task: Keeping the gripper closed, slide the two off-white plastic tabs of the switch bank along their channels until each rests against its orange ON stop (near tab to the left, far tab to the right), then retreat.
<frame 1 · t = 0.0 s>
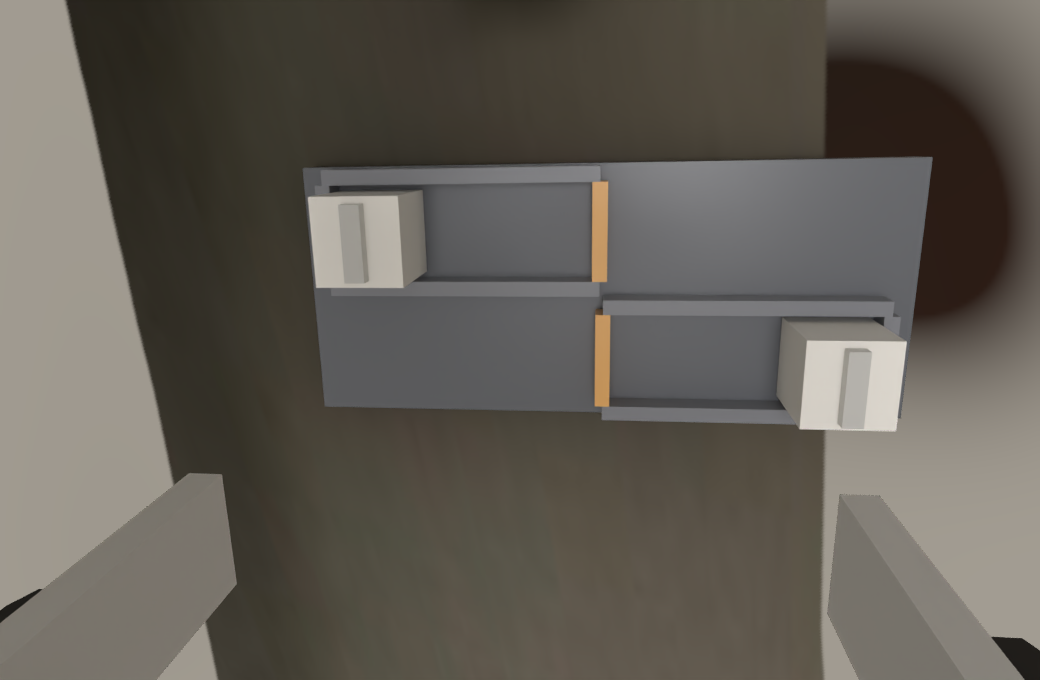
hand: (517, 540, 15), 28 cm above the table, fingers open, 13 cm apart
tab B: (838, 372, 37), point 5 cm above the table, slide at 0.0 cm
switch bank: (601, 286, 42), on the table
tab A: (369, 237, 38), point 5 cm above the table, slide at 0.0 cm
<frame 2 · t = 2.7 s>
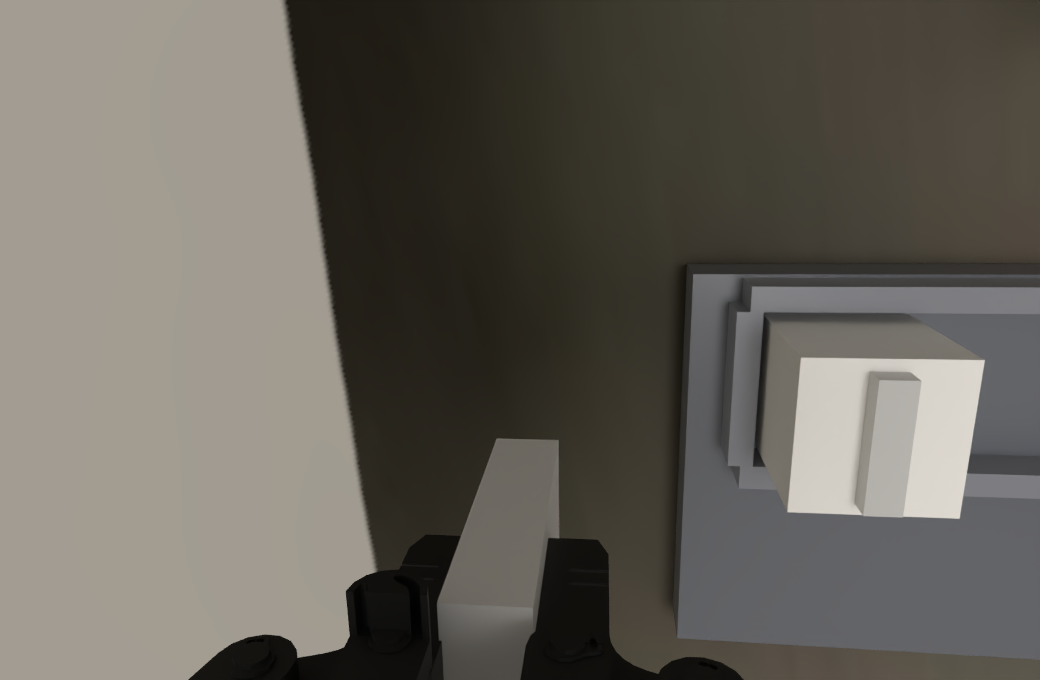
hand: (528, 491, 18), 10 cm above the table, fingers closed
tab A: (855, 410, 21), point 5 cm above the table, slide at 0.0 cm
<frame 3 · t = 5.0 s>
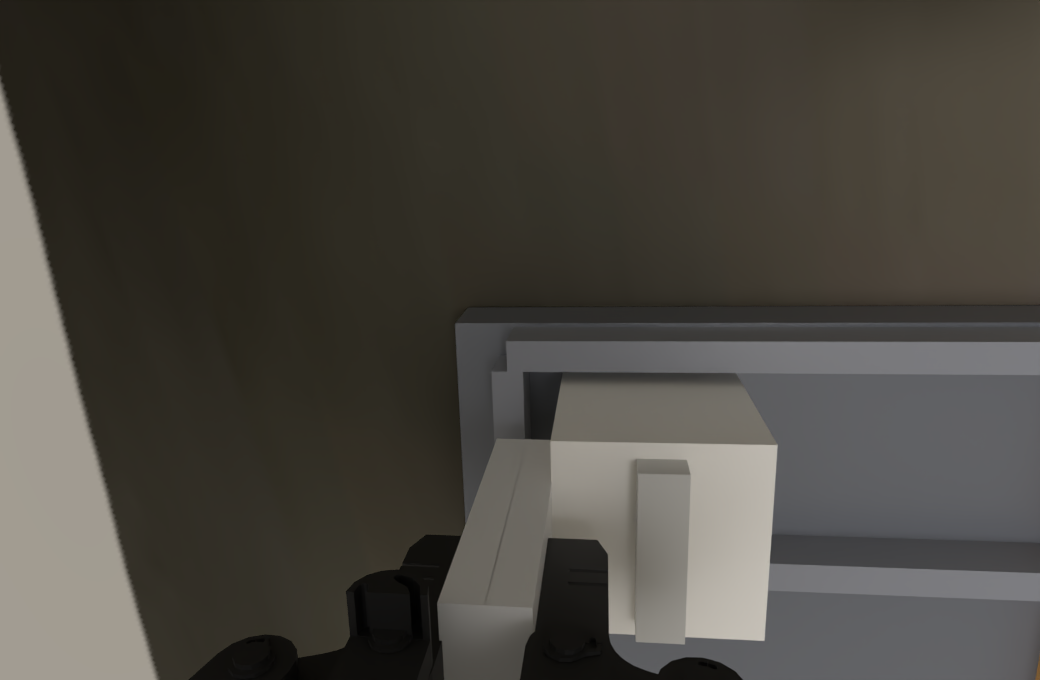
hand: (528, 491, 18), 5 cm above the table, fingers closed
switch bank: (1025, 535, 22), on the table
tab A: (653, 495, 17), point 5 cm above the table, slide at 0.7 cm, touching gripper
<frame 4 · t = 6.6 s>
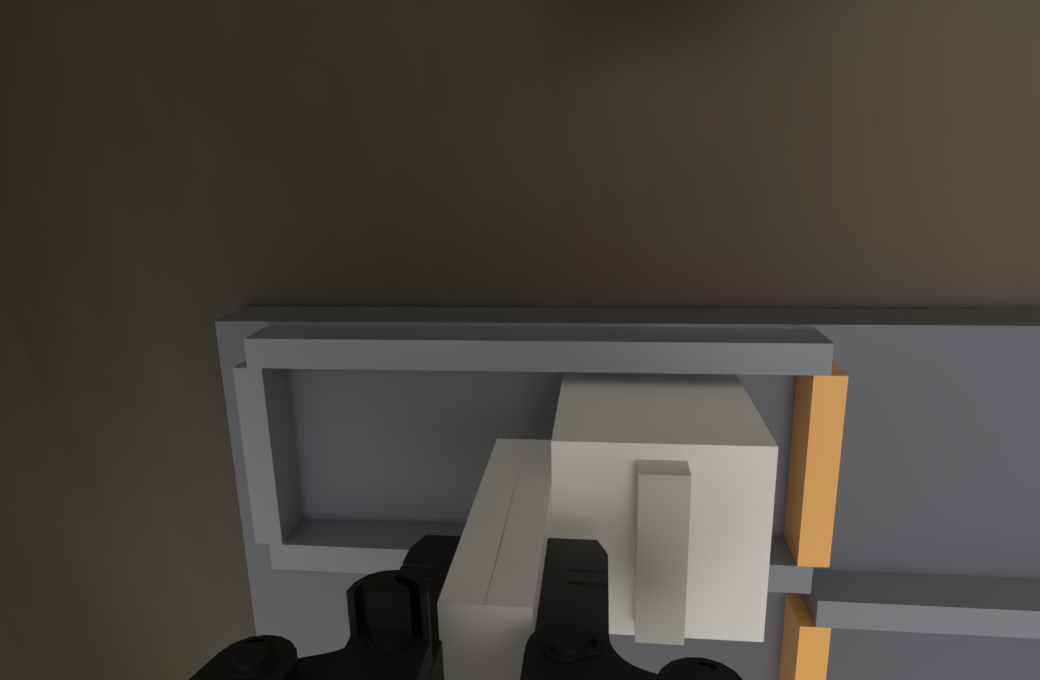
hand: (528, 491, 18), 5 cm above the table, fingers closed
switch bank: (782, 529, 22), on the table
tab A: (652, 496, 17), point 5 cm above the table, slide at 7.6 cm, touching gripper
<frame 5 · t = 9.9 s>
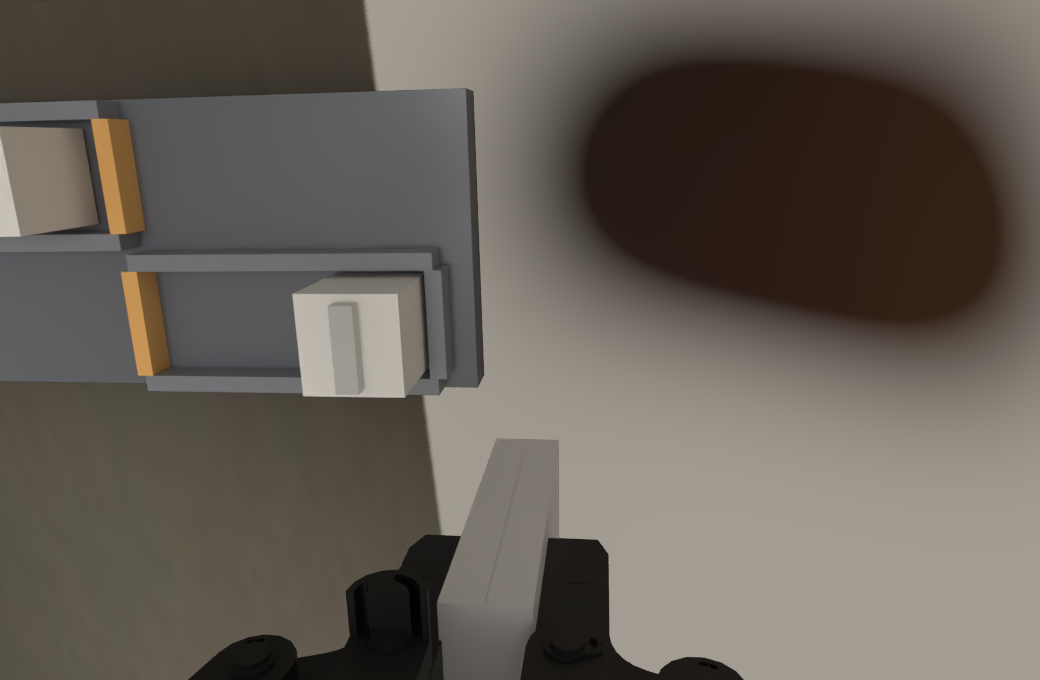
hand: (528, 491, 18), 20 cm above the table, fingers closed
tab B: (365, 333, 33), point 5 cm above the table, slide at 0.0 cm
switch bank: (165, 243, 38), on the table
tab A: (1, 180, 33), point 5 cm above the table, slide at 7.7 cm
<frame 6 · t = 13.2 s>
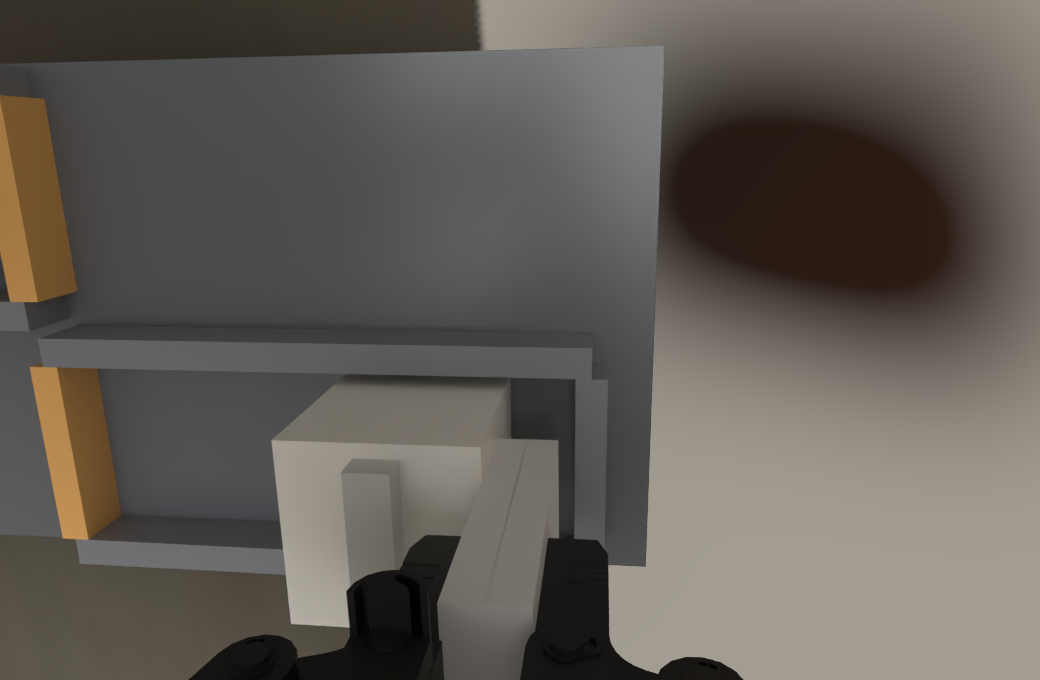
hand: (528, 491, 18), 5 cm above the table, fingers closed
tab B: (406, 494, 18), point 5 cm above the table, slide at 1.6 cm, touching gripper
switch bank: (117, 307, 23), on the table
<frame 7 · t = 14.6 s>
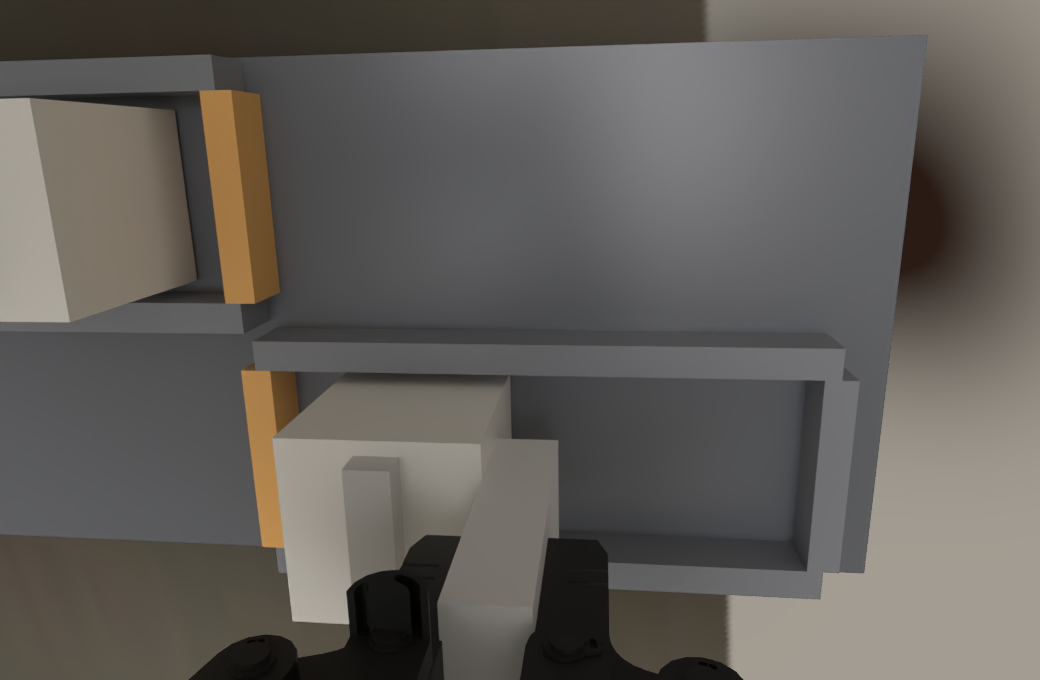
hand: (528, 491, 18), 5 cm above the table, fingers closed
tab B: (407, 492, 18), point 5 cm above the table, slide at 7.6 cm, touching gripper
switch bank: (301, 308, 22), on the table
tab A: (29, 207, 17), point 5 cm above the table, slide at 7.7 cm
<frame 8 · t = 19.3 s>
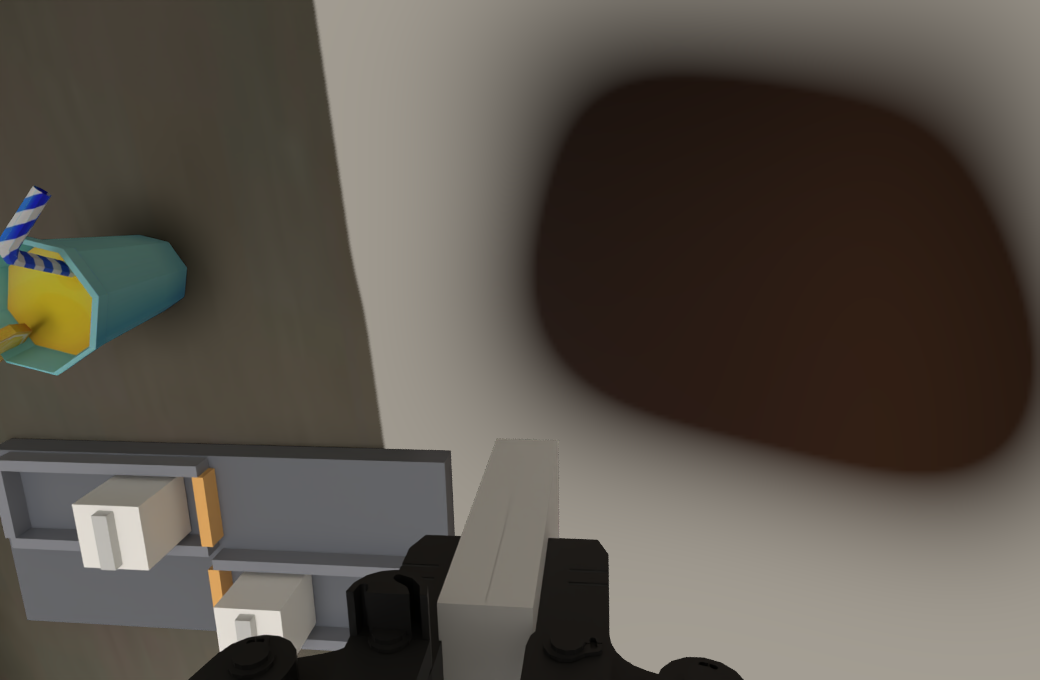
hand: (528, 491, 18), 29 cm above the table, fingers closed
tab B: (265, 618, 49), point 5 cm above the table, slide at 7.7 cm
cup: (158, 262, 49), on the table
switch bank: (235, 532, 54), on the table
tab A: (131, 520, 48), point 5 cm above the table, slide at 7.7 cm
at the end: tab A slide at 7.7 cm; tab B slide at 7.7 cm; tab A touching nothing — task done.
